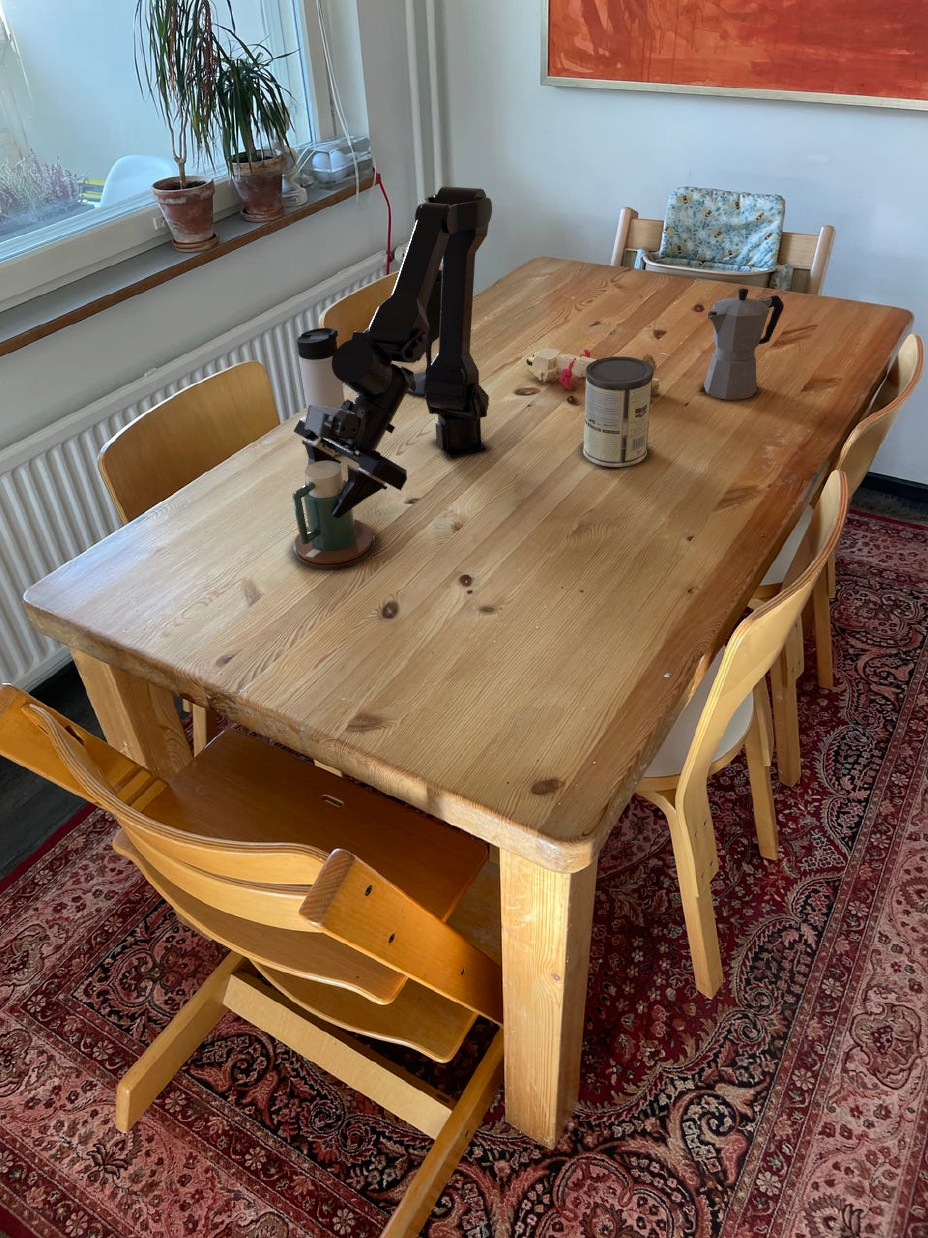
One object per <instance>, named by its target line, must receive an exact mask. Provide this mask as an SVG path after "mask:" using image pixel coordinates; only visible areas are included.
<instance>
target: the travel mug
mask: <svg viewBox="0 0 928 1238" xmlns="http://www.w3.org/2000/svg"><path fill="white" fill-rule="evenodd" d="M338 336H339V332H338V330H337V329H334V328H331V327H318V328H313V329H310V330H307V331H304V332H303V333H301V334H300V336H298V337H297V338H296V347H297V353H298V354H297V356H298V362H299V368H300V376H301V381H302V387H303V393H304V400H305V406H306V412H308V407H309V405H319V406H328V407H334V408H340V407H341V406H342V404H343V402H344V401H346V398H345V391H344V383H343V382H342V381H340V380H339V379H338V378H337V377H336V376H335V375H334V373H333V370H332V364H331V363H332V357H333V354H334V353H335V352H336V351H337V349H338V348H339V347H338V341H337V338H338ZM345 448H348V446H346V445H345ZM343 450H344V449H343ZM338 455H341V454H340V453H338V452H337V453H335V454H334V455H333V457H335V456H338Z"/></svg>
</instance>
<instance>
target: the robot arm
mask: <svg viewBox="0 0 928 1238" xmlns="http://www.w3.org/2000/svg"><path fill="white" fill-rule="evenodd" d="M492 215H493V203H492V199H491V198H490V197H487V194H486V191H485V190H484V189H483V188H476V187H462V186H448V185H447V186H445V185H444V186H440V188H439V189H438V191H437V193H434V194H432V195H429V196H426V197H424V198H423V203H420V204H418V206H417V207H416V210H415V213H414V224H415V225H414V227H413V231H412V234H411V237H410V241H409V243H408V246H407V249H406V252H405V255H404V258H403V260H402V261H403V262H402V264H401V267H400V269H399V270H400V271H399V274H398V276H397V280H396V282H395V285H394V288H393V291H392V293H391V295H390V296H389V297H388V298H387V299H385V300H384V301H383V302H382V303H381V304H380V305H379V306H378V307H377V309H376V310H375V314H374V316H373V317H372V320H371V322H370V323H369V326H368V327H366V329H365V330H364V331H358V330H357V331H356V330H354V331H353V332H352V336H351V339H349V340H347V341H345V342H343V343H342V344H340V345H339V347H337V348H338V349H337V351H336V352H335V353H334V354H333V357H332V363H331V364H332V370H333V373H334V375H335V376H336V377H337V378H338V379H339V380H340V381H342V383H343V385H345V386H346V387H348V388H350V389H351V390H352V391H353V392H355V393H356V396H355V397H354V399H353V401H352V400H350V399H348V398H346V399H345V401H344V402H343V404H342V406H341V407H340V408H334V407H328V406H319V405H309V407H308V412H307V411H306V412H307V413H306V416H305V417H302V418H301V419H299V420H298V422H297V424H296V425H295V428H294V429H293V433H296V435H299V436H300V437H302V438H304V439H305V440H306V441H305V440H304V439H302V440H301V443H302V445H303V446H304V447H305V450H306V453H307V457H308V460H307V461H308V462H307V466H309V465H310V464H312V463H315V462H319V461H334V462H337V463H339V464H340V465H341V463H342V461H341V460H340V459H337V458H336V457H335V455H334V454H335V453H337V452H338V453H340V454H339V455H342V456H344V457H345V458H347V459H349V460H351V461H352V462H354V463H356V464H358V468H355V467H353V466H351V465H350V464H347V465H346V467H347V481H346V482H347V483H346V485H345V487H344V489H343V491H342V493H341V495H340V497H339V499H338V501H337V503H336V505H335V508H334V511H333V513H332V516H334V517H336V518H340V517H341V516H342V515H344V514H345V513H347V512H348V511H349V510H351V509H352V508H353V509H354V508H355V507H357V506H358V505H359V504H360V503H362V502H363V501H365V500H367V499H368V498H370V497H371V496H373V495H374V494H376V493H378V492H379V491H381V490H384V491H387V489H388V488H389V487H388V486H387V485H389V486H391V487H393V488H395V489H397V490H398V491H400V492H402V490H403V488H404V486H405V484H406V482H407V480H408V473H407V469H405V468H403V467H402V466H401V465H399V464H397V463H395V462H394V461H392V460H391V459H389V458H387V457H386V456H383V455H382V453H381V452H380V451H377V448H378V447H379V445H380V443H381V441H382V440H383V437H384V435H385V433H386V432H388V433H390V434H393V432H394V431H395V429H396V426H394V425H393V424H391V422H392V420H393V419H394V417H395V416H396V413H397V412H398V409H399V407H400V406H401V404H402V402H403V400H404V398H405V396H406V394H407V393H408V392H407V391H408V390H410V391H412V392H414V391H415V390H416V383H415V381H414V375H415V372H414V371H412V370H411V369H409V368H407V367H405V366H398V365H397V364H396V363H392V362H397V363H404V364H405V363H406V364H414V363H416V362H419V361H420V360H421V359H422V357H423V356H424V355H425V354H426V349H427V345H428V333H429V324H428V320H427V317H426V309H427V304H428V301H429V298H430V295H431V292H432V289H433V286H434V283H435V280H436V276H437V273H438V270H440V268H441V270H442V286H441V309H440V333H439V338H438V351H437V352H438V353H437V355H436V356H435V357H434V358H433V360H432V364H431V365H428V366H427V365H426V368H425V371H424V372H426V382H425V385H424V396H423V397H424V400H425V403H426V406H427V409H428V413H429V414H430V415H437V421H435V438H436V439H435V444H436V446H438V447H439V448H440V449H441V451H443V452H444V453H445V455H447V456H448V457H449V458H451V459H452V458H456V457H460V456H465V455H469V454H472V453H475V452H476V453H477V452H480V451H484V450H486V449H487V448H486V447H487V446H486V444H485V443H483V442H482V426H481V419H482V418H486V417H487V416H488V409H489V405H490V403H489V401H490V396H489V395H488V393H487V392H486V391H485V389H484V388H483V387H482V386H481V385H480V371H479V368H478V367H477V364H476V363H475V360H474V359H473V356H472V355H471V335H472V319H473V318H472V317H473V303H474V301H473V299H474V282H475V265H476V264H475V263H476V253H477V252H478V250H479V248H480V247H481V245H482V244H483V243H484V241H485V239H486V237H487V236H488V232H489V231H488V230H489V223H490V222H491V219H492ZM441 264H442V265H441ZM345 445H346V446H348V448H345ZM343 449H344V450H343ZM356 452H358V454H357V453H356ZM333 455H334V456H333ZM386 484H387V485H386ZM305 485H306V481H305V483H304V486H305Z"/></svg>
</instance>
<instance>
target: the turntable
mask: <svg viewBox="0 0 928 1238" xmlns="http://www.w3.org/2000/svg"><path fill="white" fill-rule="evenodd" d="M372 534H373V542H372V544H371V546H370V548H369V549H368V550H367V551H366V552H365V553H363V554H362V555H360V556H358V557H356V558H354V559H352V560H349V561H345V562H341V563H334V564H321V563H314V562H311V561H308V560H306V559H304V558H302V557H301V556H300V555H299V554H298V553H297V551H296V548H295V541H294V543H293V547H292V549H293V554H294V557H295V559H296V560H297V562H299V564H301V565H303V566H304V567H306V568H309V569H312V570H317V571H339V570H343V569H349V568H351V567H354V566H357V565H360V564H361V563H363V562H364V561H366V560H367V559H369V558H370V557H371V555H372V554H373V553H374V551H375V549H376V546H377V542H376V536H375V533H374V532H373V531H372Z"/></svg>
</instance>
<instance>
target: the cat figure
mask: <svg viewBox="0 0 928 1238" xmlns="http://www.w3.org/2000/svg"><path fill="white" fill-rule="evenodd" d="M595 360H597V359H596V358H592V357H591V352H590V350H589V349H584V350H583V354H582V353H581V354H580V356H578V355H575V354H571V353H566V354H565V353H562V351H561V350H559V349H555V348H551V347H548V346H547V347H543V348H542V349H541V350H540V351H538V352H537V351H536V352H535V353H533V354H532V356H529V357H528V358H527V359H526V364H524V368H527V370H528V372H529V373H530V374H531V373H532V375H533V376H534V377H537V378H538V381H543V382H546V381H548V380H551V379H553V377H555V376H556V375H557V374H558V373H559V374H561V376H560V377H559V380H558V381H559V383H561V384H563V385H564V386H565V388H566V389H567V390H573V389H572V388H573V387H572V386H571V385H572V384H571V379H572V376H576V377H578V378H582V379H585V378H586V375H585V369H586V367H587V366H588V365H589V364H590V363H591V362H593V361H595ZM642 360H643V361H645V362H647V363H649V364H650V365H651V366H652V367H653V369H654V372H655V371H657V364H656V362H657V361H656V360H655V358H654V356H652V354H648V353H646V354H644V356H642ZM659 389H660V379H659V378H657V377H653V378H652V388H651V395H653V396H656V395H657V393H658V390H659Z"/></svg>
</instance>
